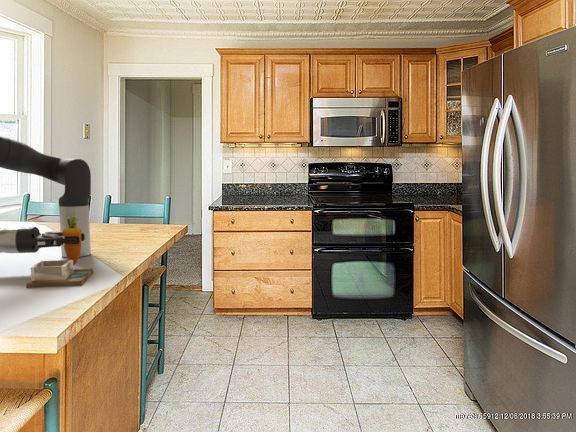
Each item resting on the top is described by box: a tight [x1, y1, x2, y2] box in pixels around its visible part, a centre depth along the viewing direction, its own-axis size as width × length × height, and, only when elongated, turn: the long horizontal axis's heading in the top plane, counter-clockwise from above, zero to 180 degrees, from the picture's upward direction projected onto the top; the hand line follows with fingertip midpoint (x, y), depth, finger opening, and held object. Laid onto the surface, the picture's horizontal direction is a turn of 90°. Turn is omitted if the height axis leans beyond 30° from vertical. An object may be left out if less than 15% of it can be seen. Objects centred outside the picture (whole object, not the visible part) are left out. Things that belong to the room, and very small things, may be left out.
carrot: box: [63, 216, 81, 267], centre depth 133 cm, size 5×5×15 cm
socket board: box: [25, 259, 94, 289], centre depth 123 cm, size 14×13×5 cm
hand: (81, 238), depth 134 cm, fingers closed on carrot, 4 cm apart
